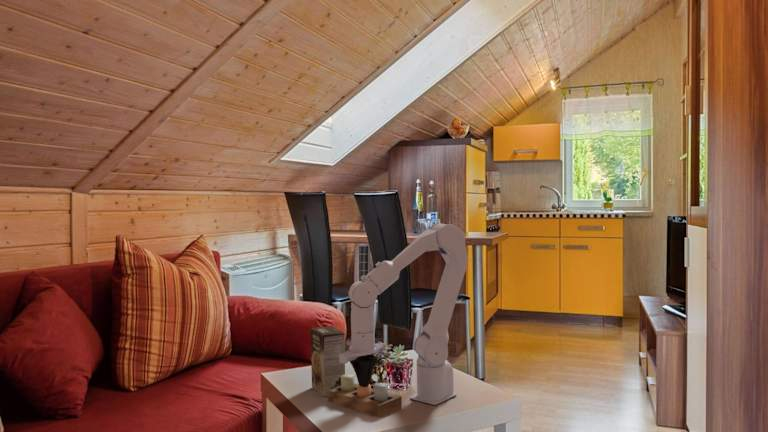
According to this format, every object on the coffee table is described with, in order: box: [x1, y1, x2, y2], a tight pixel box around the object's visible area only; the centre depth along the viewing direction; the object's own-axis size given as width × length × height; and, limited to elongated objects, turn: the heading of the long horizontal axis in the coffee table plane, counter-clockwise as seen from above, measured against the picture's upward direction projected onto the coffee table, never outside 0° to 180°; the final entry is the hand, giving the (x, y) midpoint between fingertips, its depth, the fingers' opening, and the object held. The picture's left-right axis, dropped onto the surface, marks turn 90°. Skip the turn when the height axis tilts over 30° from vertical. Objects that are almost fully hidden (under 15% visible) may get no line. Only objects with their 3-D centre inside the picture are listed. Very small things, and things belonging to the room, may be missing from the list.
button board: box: [327, 383, 403, 418], centre depth 144 cm, size 17×8×3 cm, turn 48°
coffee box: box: [310, 325, 346, 398], centre depth 155 cm, size 9×6×16 cm
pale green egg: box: [341, 373, 356, 393], centre depth 147 cm, size 3×3×4 cm
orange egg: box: [357, 383, 372, 398], centre depth 144 cm, size 3×3×4 cm
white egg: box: [373, 382, 389, 403], centre depth 140 cm, size 3×3×4 cm
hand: (363, 386), depth 144 cm, fingers closed, pressing on orange egg
